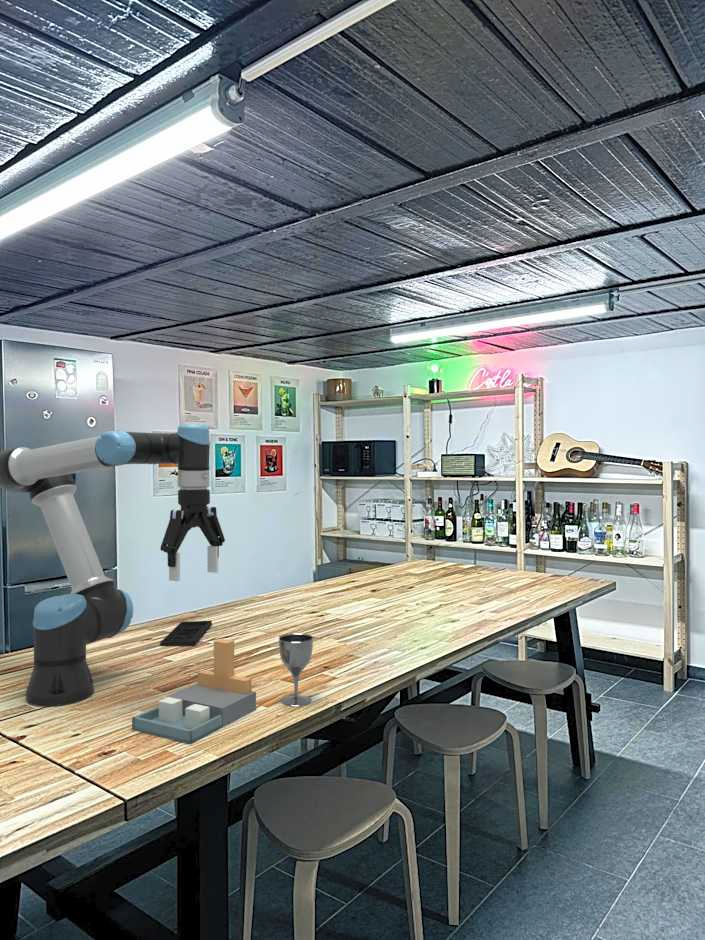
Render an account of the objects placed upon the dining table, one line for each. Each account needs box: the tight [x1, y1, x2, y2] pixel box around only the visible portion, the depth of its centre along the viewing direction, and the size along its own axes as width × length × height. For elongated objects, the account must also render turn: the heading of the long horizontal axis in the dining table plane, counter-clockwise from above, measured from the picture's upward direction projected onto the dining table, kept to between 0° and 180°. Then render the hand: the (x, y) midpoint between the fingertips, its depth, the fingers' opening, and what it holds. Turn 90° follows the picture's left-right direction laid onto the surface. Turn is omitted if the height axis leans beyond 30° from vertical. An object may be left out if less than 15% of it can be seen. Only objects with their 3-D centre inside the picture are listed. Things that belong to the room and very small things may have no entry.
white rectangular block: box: [185, 704, 210, 729], centre depth 147 cm, size 4×4×3 cm
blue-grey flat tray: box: [131, 705, 223, 745], centre depth 147 cm, size 16×10×2 cm, turn 61°
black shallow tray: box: [150, 620, 243, 647], centre depth 225 cm, size 26×3×30 cm
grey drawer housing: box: [165, 682, 257, 728], centre depth 157 cm, size 16×12×4 cm
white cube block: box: [158, 697, 182, 723], centre depth 151 cm, size 4×4×3 cm
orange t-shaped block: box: [197, 638, 252, 694], centre depth 161 cm, size 14×2×11 cm, turn 62°
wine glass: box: [278, 632, 314, 707], centre depth 164 cm, size 8×8×15 cm
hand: (194, 576), depth 168 cm, fingers open, 13 cm apart
